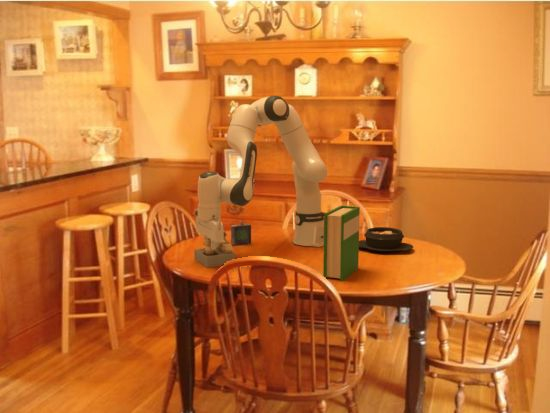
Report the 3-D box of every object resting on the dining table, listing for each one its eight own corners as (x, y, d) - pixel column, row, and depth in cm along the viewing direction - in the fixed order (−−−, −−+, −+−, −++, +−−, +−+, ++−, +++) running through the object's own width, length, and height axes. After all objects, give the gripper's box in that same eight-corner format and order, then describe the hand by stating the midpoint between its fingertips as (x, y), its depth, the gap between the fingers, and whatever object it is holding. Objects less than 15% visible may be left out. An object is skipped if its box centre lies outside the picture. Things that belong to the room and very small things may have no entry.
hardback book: (342, 281, 206) (344, 215, 201) (323, 278, 209) (324, 213, 204) (358, 268, 221) (359, 207, 217) (339, 266, 224) (341, 205, 220)
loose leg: (212, 253, 231) (212, 233, 229) (216, 255, 227) (216, 235, 226) (204, 254, 229) (203, 234, 227) (207, 256, 226) (207, 236, 224)
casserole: (350, 252, 245) (350, 233, 243) (359, 242, 262) (359, 224, 260) (410, 257, 236) (411, 237, 235) (415, 246, 254) (416, 228, 252)
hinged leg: (215, 247, 238) (215, 240, 237) (222, 246, 239) (222, 239, 238) (225, 253, 228) (225, 246, 227) (232, 252, 229) (232, 245, 228)
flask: (231, 246, 256) (231, 222, 254) (230, 244, 259) (229, 221, 257) (251, 244, 259) (251, 220, 257) (250, 242, 262) (249, 219, 260)
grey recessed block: (221, 255, 240) (221, 246, 240) (235, 263, 228) (235, 253, 228) (194, 259, 235) (194, 249, 234) (207, 267, 223) (207, 257, 222)
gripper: (227, 217, 218) (228, 253, 220) (207, 208, 235) (208, 241, 238) (212, 219, 215) (212, 255, 217) (192, 210, 232) (193, 243, 235)
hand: (210, 248), depth 228 cm, fingers closed on loose leg, 4 cm apart
